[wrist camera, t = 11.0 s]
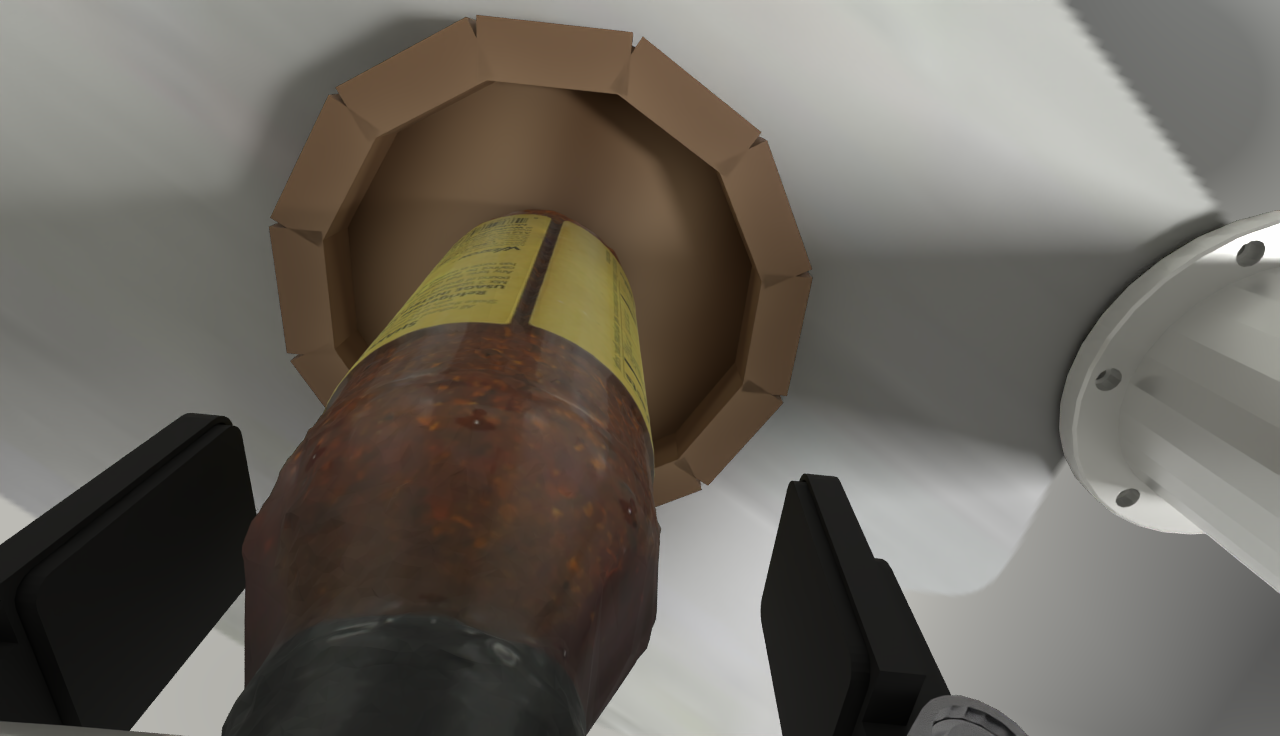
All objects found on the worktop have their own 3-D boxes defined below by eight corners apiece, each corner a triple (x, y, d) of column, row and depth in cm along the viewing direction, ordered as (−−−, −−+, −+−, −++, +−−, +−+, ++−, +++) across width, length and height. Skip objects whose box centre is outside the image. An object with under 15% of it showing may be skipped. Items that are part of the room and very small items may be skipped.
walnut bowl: (832, 59, 19) (860, 57, 17) (744, 498, 26) (755, 541, 23) (286, -2, 18) (235, -12, 16) (339, 467, 25) (309, 508, 23)
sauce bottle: (431, 352, 22) (-442, 1578, 4) (469, 173, 20) (-1289, 1267, 2) (613, 403, 23) (554, 1586, 5) (670, 239, 21) (955, 1392, 3)
